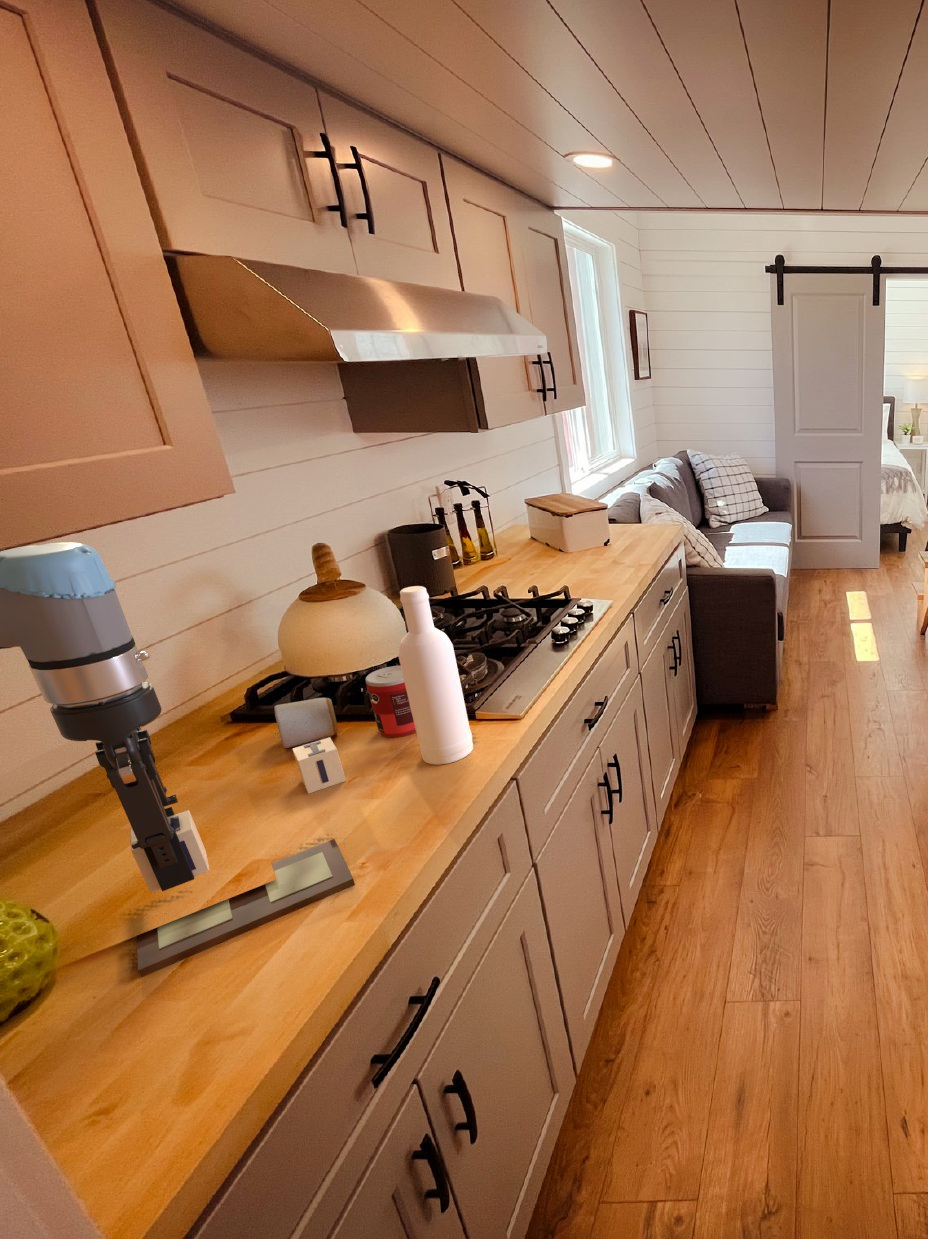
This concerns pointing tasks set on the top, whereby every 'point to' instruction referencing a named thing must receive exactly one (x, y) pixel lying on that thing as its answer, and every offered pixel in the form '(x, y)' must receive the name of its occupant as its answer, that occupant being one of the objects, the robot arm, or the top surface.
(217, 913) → the word board
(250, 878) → the top surface
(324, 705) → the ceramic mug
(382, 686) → the canned food
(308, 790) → the letter I
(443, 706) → the bottle
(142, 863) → the letter H
